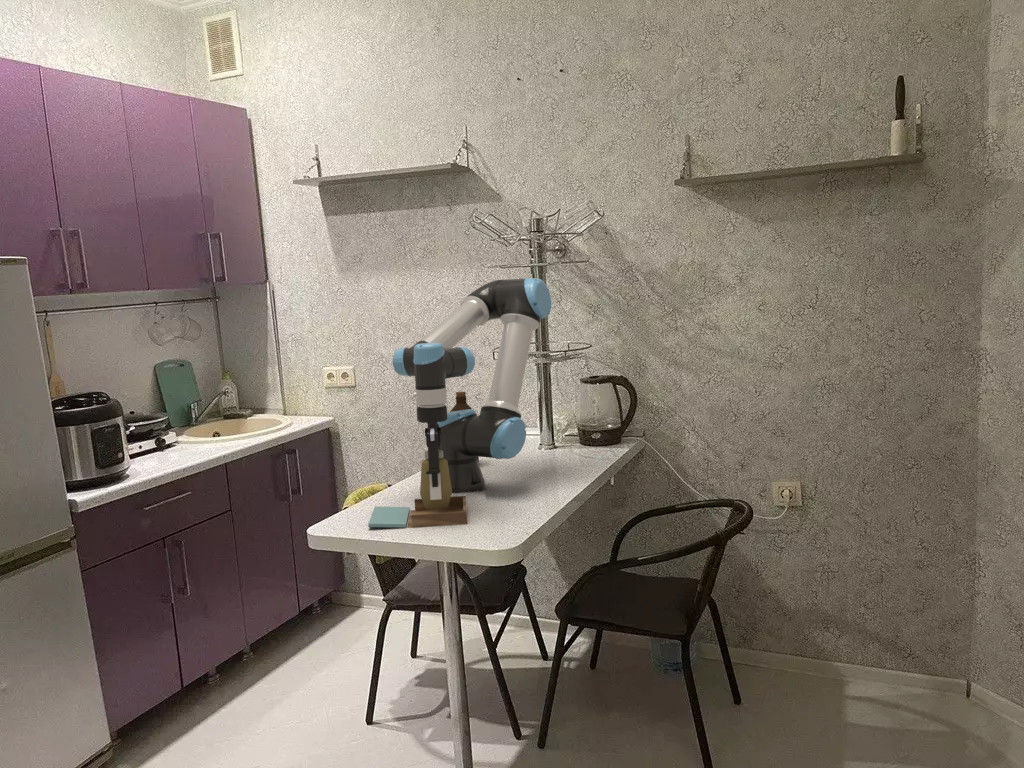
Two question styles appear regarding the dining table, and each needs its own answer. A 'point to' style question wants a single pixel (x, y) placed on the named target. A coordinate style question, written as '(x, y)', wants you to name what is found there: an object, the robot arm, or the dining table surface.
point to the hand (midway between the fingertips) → (436, 494)
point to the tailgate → (389, 517)
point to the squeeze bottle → (445, 484)
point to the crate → (439, 514)
